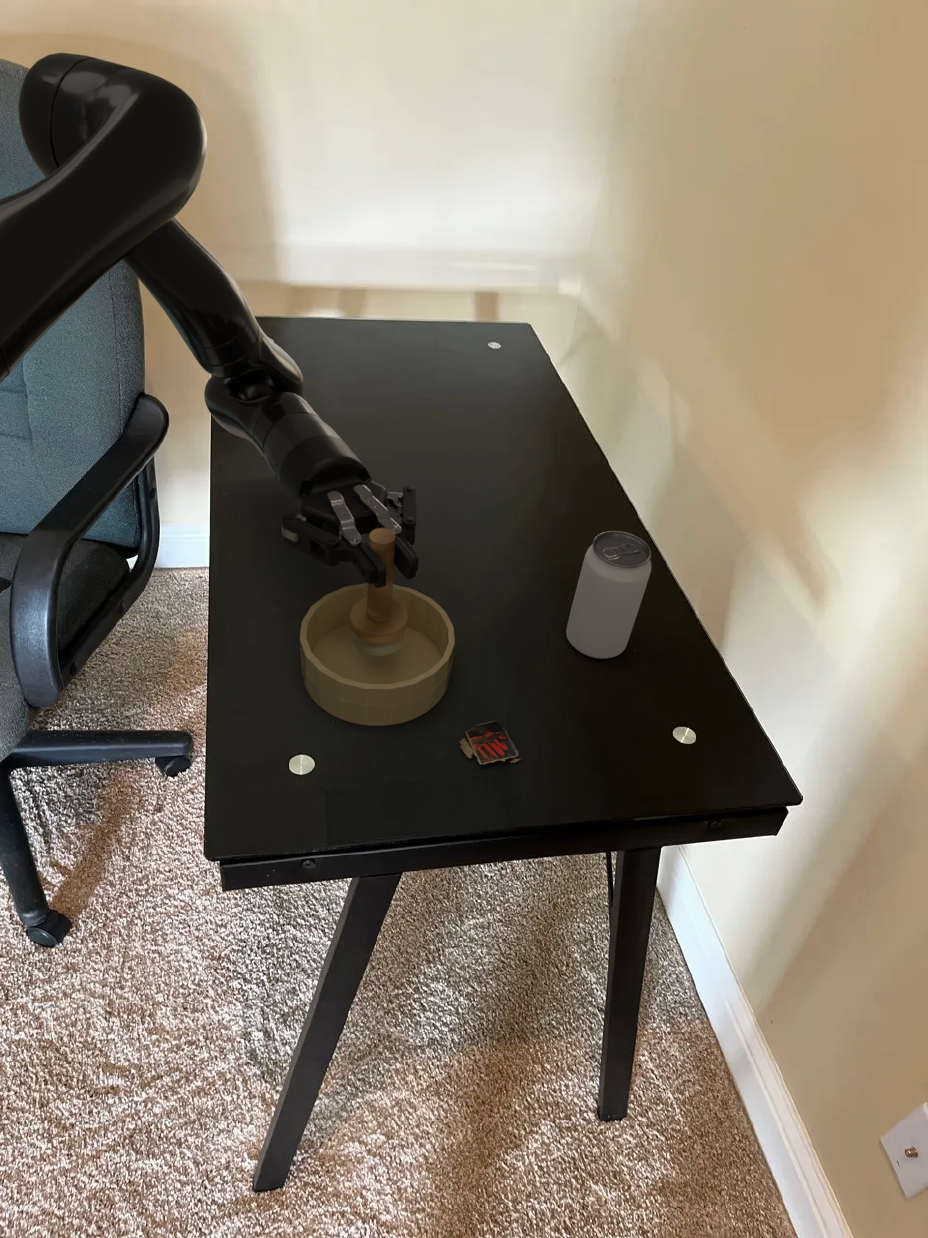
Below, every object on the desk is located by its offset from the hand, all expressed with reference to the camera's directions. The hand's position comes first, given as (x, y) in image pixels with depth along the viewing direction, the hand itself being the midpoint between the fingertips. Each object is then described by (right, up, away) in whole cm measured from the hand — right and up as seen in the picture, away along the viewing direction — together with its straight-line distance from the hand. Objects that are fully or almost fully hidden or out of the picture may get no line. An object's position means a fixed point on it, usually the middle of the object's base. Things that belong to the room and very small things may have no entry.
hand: (397, 574), depth 69 cm
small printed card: (+8, -15, +6) cm, 18 cm away
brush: (-2, -5, +8) cm, 10 cm away
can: (+19, -6, +18) cm, 27 cm away
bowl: (-3, -9, +11) cm, 14 cm away
